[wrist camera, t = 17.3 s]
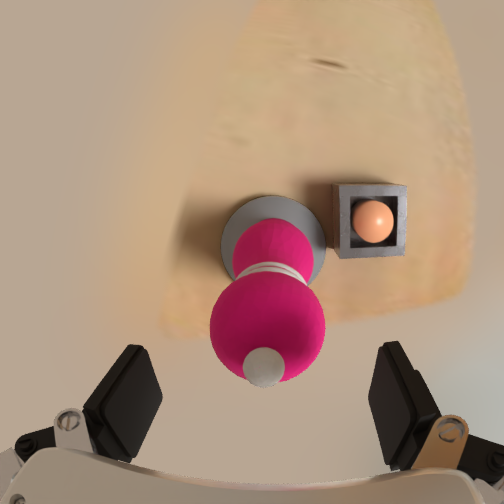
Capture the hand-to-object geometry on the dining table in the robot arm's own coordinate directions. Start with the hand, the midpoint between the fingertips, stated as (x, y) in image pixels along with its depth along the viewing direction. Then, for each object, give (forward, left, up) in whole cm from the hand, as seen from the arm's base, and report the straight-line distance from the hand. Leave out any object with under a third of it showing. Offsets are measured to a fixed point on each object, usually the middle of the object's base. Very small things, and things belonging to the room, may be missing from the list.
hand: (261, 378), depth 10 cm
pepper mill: (0, 0, -20) cm, 20 cm away
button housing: (-2, +10, -21) cm, 24 cm away
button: (-2, +10, -20) cm, 22 cm away
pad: (+1, 0, -21) cm, 21 cm away
